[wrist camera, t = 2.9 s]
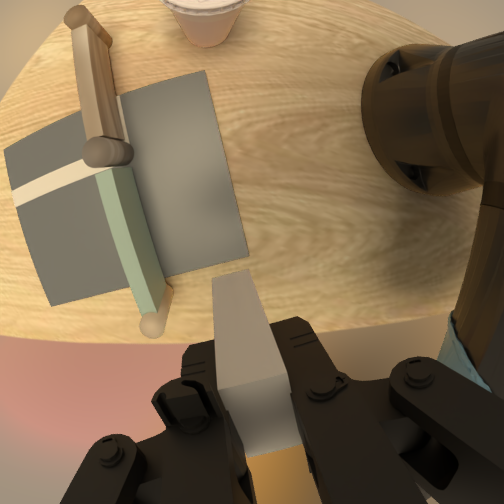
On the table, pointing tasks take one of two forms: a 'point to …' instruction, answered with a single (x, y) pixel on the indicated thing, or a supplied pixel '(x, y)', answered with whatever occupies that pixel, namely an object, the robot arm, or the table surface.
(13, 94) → the table surface
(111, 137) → the base
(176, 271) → the card
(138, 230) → the gate panel
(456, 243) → the table surface
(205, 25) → the smoothie
